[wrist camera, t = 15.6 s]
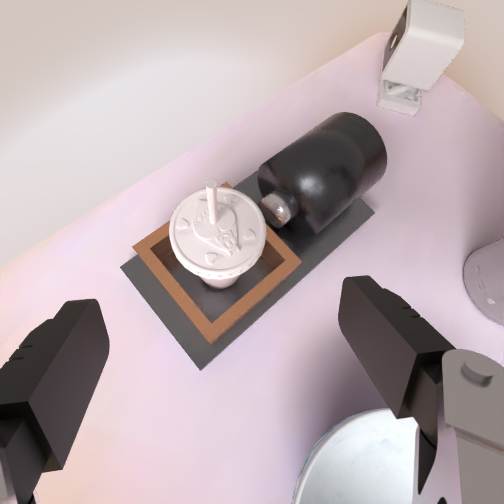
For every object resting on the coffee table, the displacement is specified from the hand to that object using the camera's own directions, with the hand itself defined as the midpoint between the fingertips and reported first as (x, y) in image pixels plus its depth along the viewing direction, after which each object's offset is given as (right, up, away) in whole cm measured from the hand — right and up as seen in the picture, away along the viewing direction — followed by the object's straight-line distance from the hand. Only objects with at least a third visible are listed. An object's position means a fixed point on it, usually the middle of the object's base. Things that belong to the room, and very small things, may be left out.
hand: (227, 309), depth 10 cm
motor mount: (+1, +3, +21) cm, 22 cm away
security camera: (+21, +24, +31) cm, 45 cm away
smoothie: (-2, 0, +18) cm, 18 cm away
